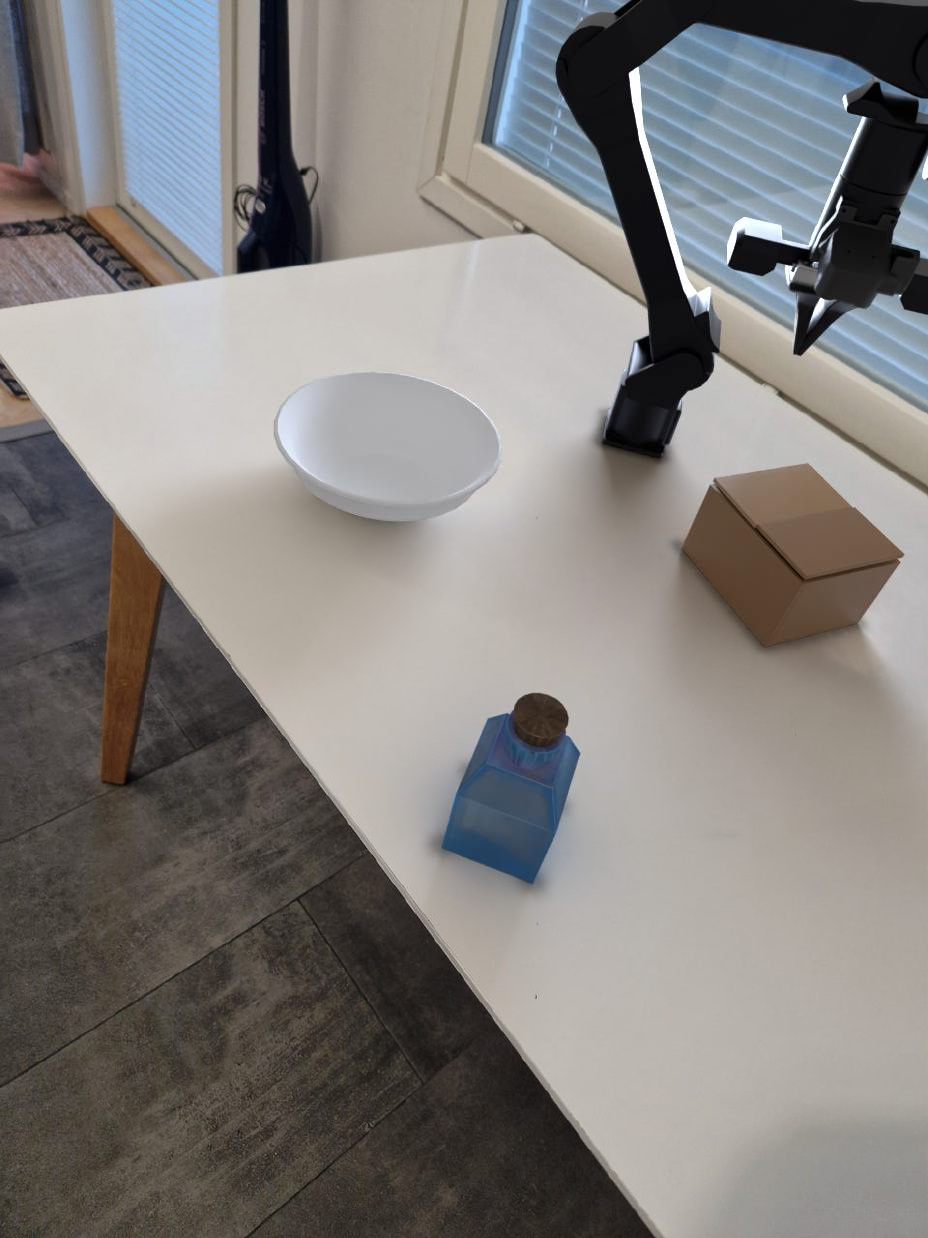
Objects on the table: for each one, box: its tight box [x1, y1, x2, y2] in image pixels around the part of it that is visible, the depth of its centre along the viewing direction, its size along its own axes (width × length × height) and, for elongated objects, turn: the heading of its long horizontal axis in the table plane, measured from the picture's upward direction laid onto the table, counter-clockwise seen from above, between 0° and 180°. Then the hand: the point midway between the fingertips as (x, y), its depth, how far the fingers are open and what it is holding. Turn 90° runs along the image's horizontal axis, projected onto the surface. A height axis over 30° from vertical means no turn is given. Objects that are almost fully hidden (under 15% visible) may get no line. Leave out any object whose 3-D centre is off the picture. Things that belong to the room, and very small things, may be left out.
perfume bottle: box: [441, 692, 581, 885], centre depth 53 cm, size 6×6×12 cm
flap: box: [712, 462, 853, 528], centre depth 75 cm, size 6×11×1 cm, turn 113°
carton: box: [681, 483, 905, 648], centre depth 76 cm, size 13×11×8 cm
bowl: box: [273, 370, 503, 522], centre depth 77 cm, size 20×20×6 cm
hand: (796, 353), depth 83 cm, fingers closed
